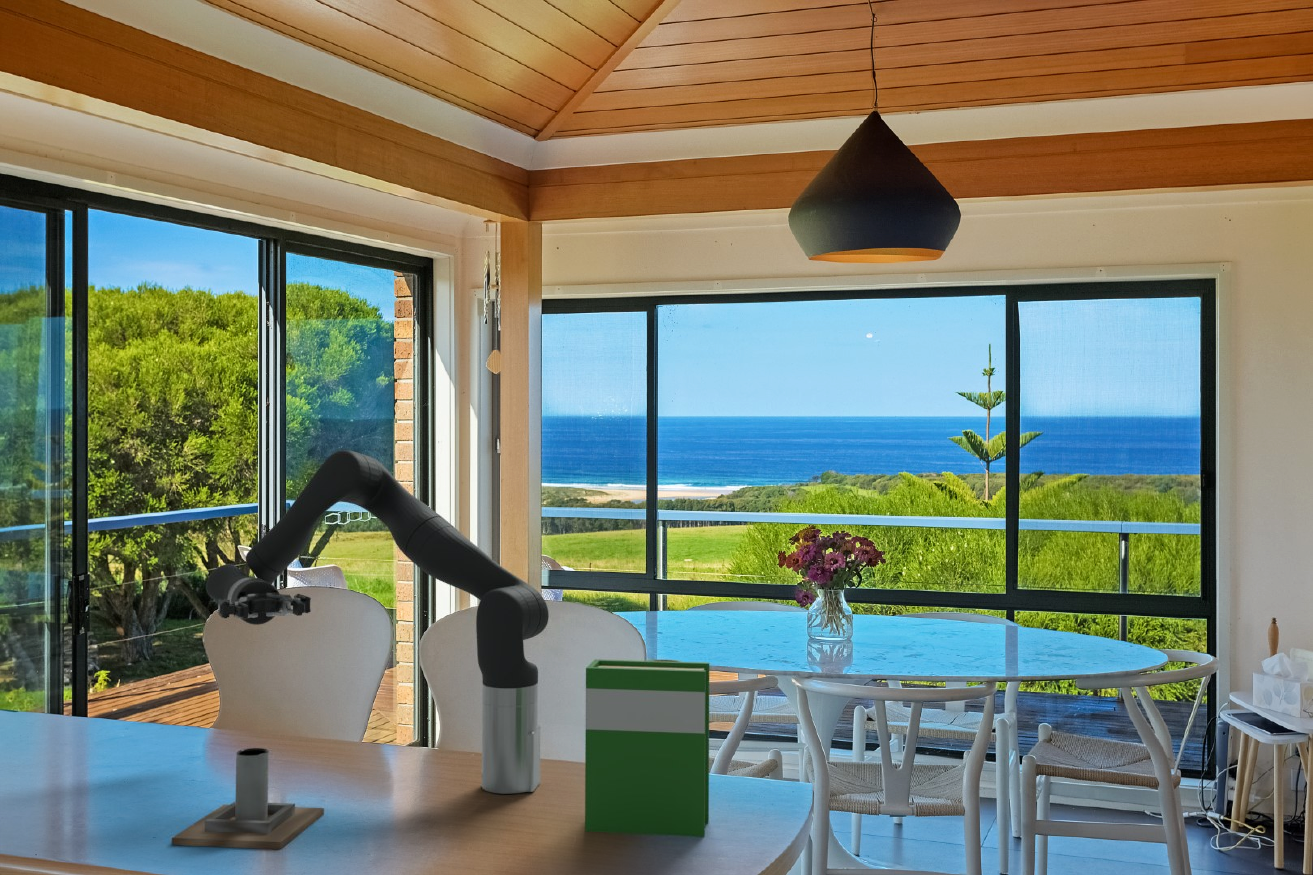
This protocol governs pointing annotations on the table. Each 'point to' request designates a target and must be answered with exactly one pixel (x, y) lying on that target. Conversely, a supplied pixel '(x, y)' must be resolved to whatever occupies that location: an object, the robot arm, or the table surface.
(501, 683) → the robot arm
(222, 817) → the base
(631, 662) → the hardback book
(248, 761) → the grey cylinder
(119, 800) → the table surface
